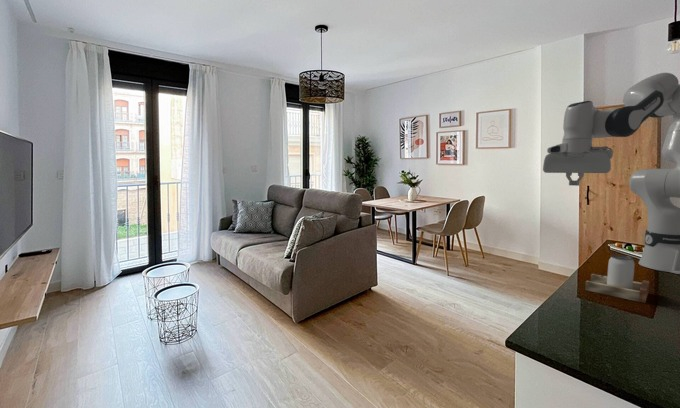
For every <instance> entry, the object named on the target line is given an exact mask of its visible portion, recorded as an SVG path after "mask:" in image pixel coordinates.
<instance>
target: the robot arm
mask: <svg viewBox="0 0 680 408" xmlns="http://www.w3.org/2000/svg"><path fill="white" fill-rule="evenodd" d="M622 102H623V105H624V106H623V107H617V108H611V109H604V110H603V109H602V110H601V109H598V108H596V107H595V106H594V103H593V101H592V100H585V101H579V102H575V103H570V104H569V105H568V106H567V107H566V109H565V111H564V116H563V127H562V128H563V137H562V142H561V143H559V144H555V145H552V146H550V147H548V148H547V150H546V151H547V154H546V155H545V157H544V159H543V165H542V171H543V172H544V173H545V174H547V173H548V174H565V177H566V179H567V180H568V186H578V187H579V186H580V184H581V183H580V182H581V180H582V179H583V177H584V176H585V174H609V173H610V172H611V169H612V164H611V163H612V162H611V159H612V158H613V155H614V154H613V153H614V152H613V151H614V150H613V149H612V148H611V147H609V146H604V145H603V146H593V139H598V138H599V139H600V138H604V139H605V138H628V137H630V136H632V135H634V134H635V133H636V132H637V131H638V130H639V128H640V126H641V125H642V124H643V123H644V122H645V121H646V120H647V119H649V118H653V119H654V118H656V119H657V118H664V117H669V116H672V119H673V120H672V122H671V124H670V126H669V128H668V130H667V133H666V136H665V138H664V143H663V145H662V148H661V156H662V157H663V158H664V159H665V160H667V161H669V162H671V163H674V164H676V167H674V168H647V169H646V168H645V169H640V170H638V169H637V170H635V171H634V172H633V173H632V174H631V176H629V180H628V186H629V189H630V191H631V192H633V193H634V194H636V196H638V197H639V198H640V199H641V200H642V202H643V203H644V205H645V207H646V210H647V229H646V230H645V233H644V234H645V235H644V247H643V252H642V254H641V257H640V259H639V261H638V264H639V265H640V266H641V267H645V268H648V269H652V270H656V271H660V272H668V273H673V274H676V275H680V207H679V206H677V205H675V204H673V202H672V200H671V199H670V198H679V199H680V83H679V79H678V77H677V76H676V75H675V74H673V73H670V72H661V73H657V74H654V75H651V76H649V77H645V78H644V79H642V80H640V81H638V82H637V83H636V84H634V85H632V86H631V87H629V88H628V89H627V90H626V91H625V93H624V95H623V98H622ZM572 174H577V177H578V178H577V180H573V179H572Z"/></svg>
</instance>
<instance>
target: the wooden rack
mask: <svg viewBox="0 0 680 408" xmlns="http://www.w3.org/2000/svg"><path fill="white" fill-rule="evenodd" d="M584 285H585V288H584V290H585V291H587V292H593V293H597V294H601V295H606V296H612V297H615V298H621V299H626V300H630V301H634V302H639V303H643V304H646V301H647V298H648V296H649V295H648V294H649V288H650V280H645V279H643V280H642V281H641V282H639V281H634V280H633V289H628V288H623V287H618V286H613V285H608V284H607V275H603V274H596V273H591V274H590V280H586V281H585V284H584Z"/></svg>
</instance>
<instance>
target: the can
mask: <svg viewBox="0 0 680 408" xmlns="http://www.w3.org/2000/svg"><path fill="white" fill-rule="evenodd" d="M606 276H607V284H608V285H613V286H618V287H623V288H628V289H633V281H634V279H635V278H634V276H635V261H634V258H633V257H632V256H628V255H623V254H611V255H610V258H609V260H608V264H607V275H606Z"/></svg>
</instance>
